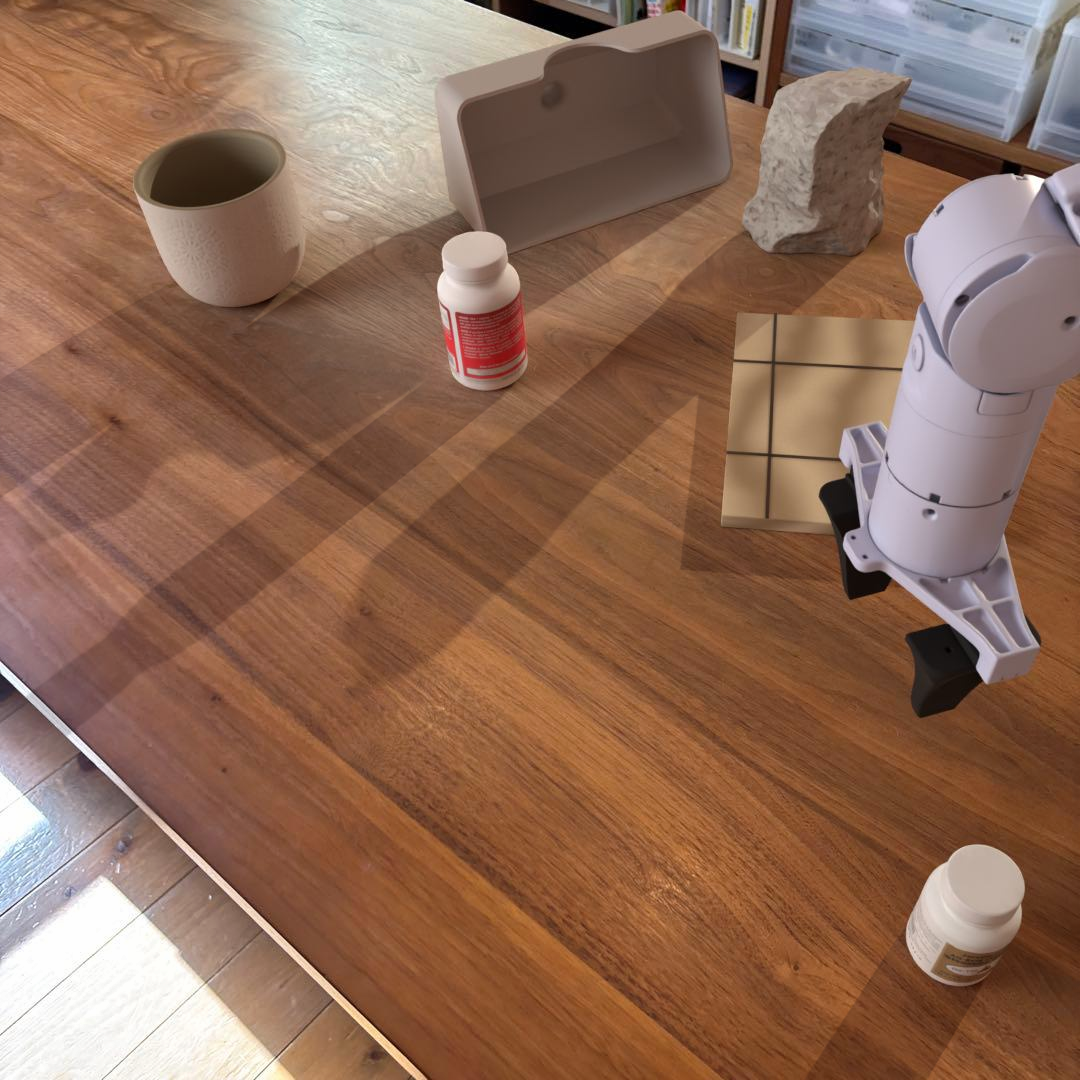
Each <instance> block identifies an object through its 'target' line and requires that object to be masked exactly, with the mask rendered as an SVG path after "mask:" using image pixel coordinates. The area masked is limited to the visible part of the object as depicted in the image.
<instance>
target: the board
mask: <svg viewBox="0 0 1080 1080" xmlns="http://www.w3.org/2000/svg"><path fill="white" fill-rule="evenodd" d="M735 322H736V323H735V325H736V326H735V336H734V337H735V338H734V339H735V340H734V348H733V361H732V362H733V364H732V376H731V389H730V401H729V414H728V424H727V425H728V426H727V438H726V439H727V440H726V451H725V453H726V454H725V464H724V465H725V467H724V477H723V478H724V479H723V490H722V502H721V506H722V507H721V517H720V527H722V528H736V529H747V530H762V531H775V532H786V533H787V532H788V533H802V534H814V535H828V536H835V533H834V530H833V527H832V524H831V521H830V519H829V516H828V514H827V512H826V509H825V507H824V506H823V504H822V502H821V500H820V499H819V491H820V489H821V487H822V486H823V485H824V484H826V483H828V482H830V481H834V480H838V479H842V478H845V475H846V473H849V474H850V469H849V468H846V467H845V465H844V464H843V462H842V461H841V459H840V458H839V452H840V447H841V441H842V436H843V431H844V429H847V428H851V427H855V426H859V425H863V424H867V423H871V422H876V421H881V422H882V423H883V424H884V426H885V427H886V428H887V429H888V430H889V426H890V422H891V417H892V413H893V409H894V404H895V400H896V396H897V391H898V387H899V383H900V378H901V374H902V370H903V365H904V362H905V359H906V356H907V354H908V349H909V345H910V341H911V336H912V332H913V328H914V324H915V320H904V319H883V318H882V319H881V318H861V317H844V316H843V317H841V316H840V317H839V316H819V315H799V314H796V315H795V314H778V313H777V312H775V313H754V312H753V313H752V312H737V314H736V321H735Z"/></svg>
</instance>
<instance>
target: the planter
mask: <svg viewBox="0 0 1080 1080" xmlns="http://www.w3.org/2000/svg"><path fill="white" fill-rule="evenodd" d="M293 179H294V178H293V174H292V171H291V166H290V162H289V159H288V155H287V152H286V149H285V147H284V146H283V144H282V143H281V142H280V141H278V140H277V138H274V137H273V136H271V135H269V134H267V133H264V132H262V131H258V130H254V129H253V130H252V129H246V128H218V129H209V130H204V131H200V132H196V133H192V134H188V135H185V136H182V137H179V138H177V139H175V140H172V141H170V142H168V143H166V144H164V145H162V146H161V147H159V148H158V149H156V150H154V151H153V152H152V153H150V154H149V155H148V156H147V157H146V158H145V159H144V160H143V161H141V163H140V164H139V165H138V167H137V168H136V170H135V173H134V175H133V179H132V187H133V191H134V193H135V196H136V198H137V201H138V204H139V206H140V208H141V211H142V213H143V216H144V218H145V221H146V223H147V226H148V228H149V232H150V234H151V237H152V239H153V242H154V244H155V245H156V247H157V250H158V253H159V255H160V257H161V259H162V262H163V264H164V266H165V267H166V269H167V271H168V273H169V275H170V276H171V277H172V279H173V280H174V281H175V282H176V284H177V285H178V286H179V287H180V288H181V289H182V290H183V291H184V292H186V294H188V295H189V296H191V297H192V298H194V299H196V300H198V301H200V302H201V303H205V304H208V305H211V306H215V307H222V308H239V307H240V308H241V307H246V306H247V307H248V306H251V305H255V304H259V303H261V302H265V301H267V300H268V299H271V298H273V297H275V296H276V295H277V294H280V292H282V291H283V290H285V289H286V288H287V287H288V286H289V285H290V284H291V282H292V281H294V279H295V278H296V277H297V275H298V274H299V271H300V270H301V267H302V265H303V261H304V256H305V250H306V249H305V248H306V236H305V227H304V222H303V217H302V213H301V208H300V203H299V198H298V195H297V191H296V187H295V184H294V180H293Z"/></svg>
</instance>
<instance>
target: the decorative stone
mask: <svg viewBox="0 0 1080 1080" xmlns="http://www.w3.org/2000/svg"><path fill="white" fill-rule="evenodd" d="M912 82H913V77H907V76H906V75H901V74H898V73H893V72H888V71H880V70H877V69H875V68H866V67H862V66H857V67H851V68H848V69H845V70H836V71H834V70H827V71H824V72H821V73H817V74H813V75H811V76H808V77H804V78H798V80H796V81H794V82H792V83H789V84H787V85H784V86H783V87H781V88H779V89H778V90H777V91H776V93H775V96H774V97H773V102H772V105H771V107H770V108H769V111H768V115H767V119H766V122H765V129H764V133H763V137H762V140H761V143H760V145H759V149H760V154H761V155H760V156H761V160H760V166H759V170H758V174H759V177H758V185H757V189H756V192H755V194H754V196H753V197H752V198H751V199H750V200H749V201H748V202H747V203H746V204H745V205H744V207H743V214H742V220H741V225H742V227H743V228H744V229H745V230H746V231H748V233H749V234H750V235H751V238H752V241H753V242H754V243H755V244H757V246H758V247H759V248H760V249H761V250H763V251H764V252H767V253H769V254H785V255H787V254H791V255H793V254H795V255H797V254H817V255H820V254H822V255H823V254H829V255H830V254H836V255H842V256H846V257H852V256H855V255H858V254H859V253H861V252H864V251H865V250H866V248H867V246H868V245H869V242H870V240H871V239H872V238H873V237H874V236H876V235H878V234H879V233H881V232H882V230H883V227H884V217H883V213H884V208H885V200H884V199H885V198H884V189H883V176H884V175H885V166H884V164H883V162H882V159H883V157H884V155H885V154H884V153H885V152H884V145H885V141H884V139H883V135H884V132H885V130H886V128H887V126H888V125H890V123H891V122H892V121H893V120H894V119H895V118H896V116H897V114H898V112H899V110H900V108H901V103H902V100H903V97H904V96H905V95H906V93H907V91H908V89H909V88H910V86H911V84H912Z"/></svg>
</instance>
